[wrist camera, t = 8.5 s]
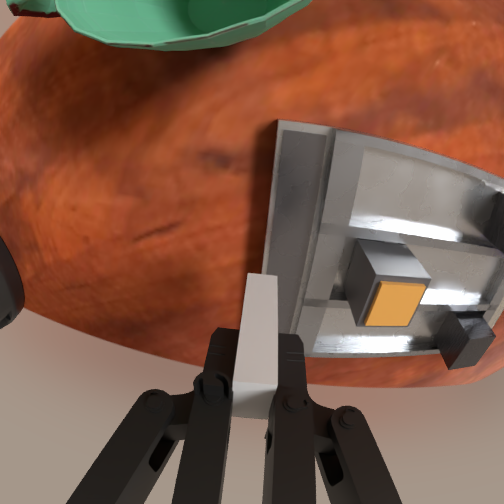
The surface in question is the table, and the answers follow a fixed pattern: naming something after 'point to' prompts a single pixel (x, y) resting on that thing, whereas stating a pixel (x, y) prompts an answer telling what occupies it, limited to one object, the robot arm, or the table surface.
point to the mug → (164, 20)
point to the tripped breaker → (384, 284)
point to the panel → (382, 230)
